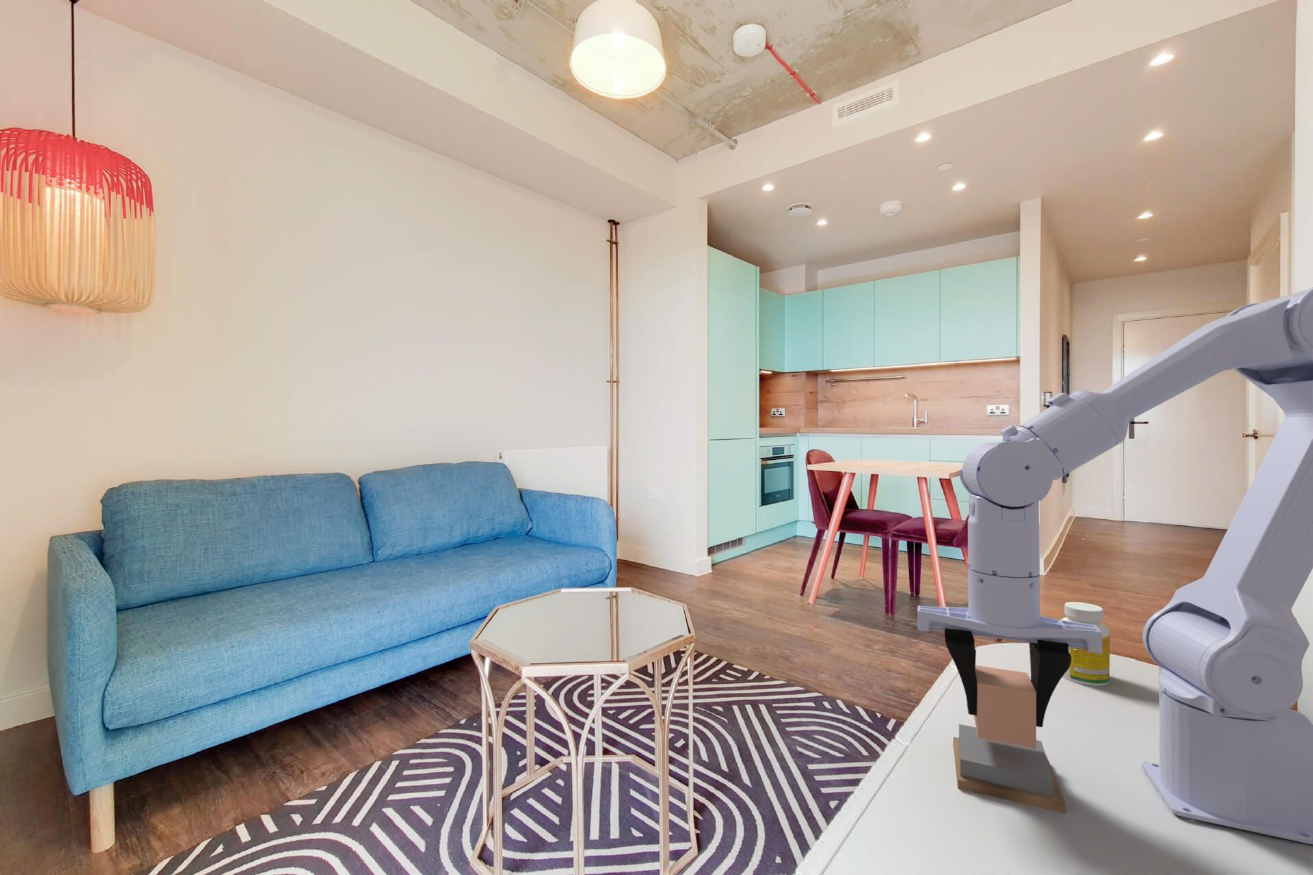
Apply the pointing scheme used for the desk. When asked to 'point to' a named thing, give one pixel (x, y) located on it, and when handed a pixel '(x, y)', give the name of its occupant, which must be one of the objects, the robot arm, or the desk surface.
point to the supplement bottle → (1084, 663)
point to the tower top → (1004, 763)
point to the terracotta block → (1005, 706)
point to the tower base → (1008, 788)
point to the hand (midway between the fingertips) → (1003, 716)
